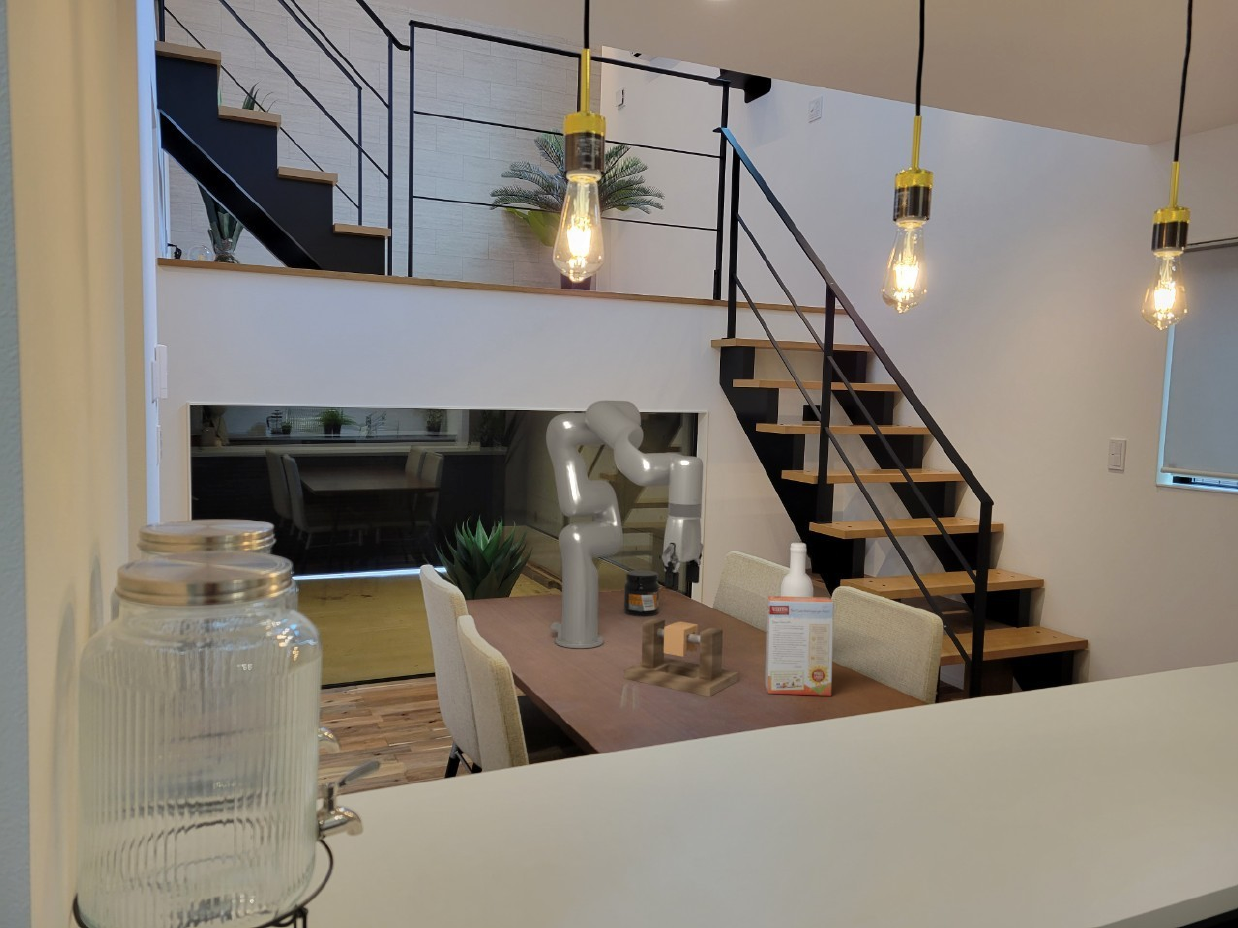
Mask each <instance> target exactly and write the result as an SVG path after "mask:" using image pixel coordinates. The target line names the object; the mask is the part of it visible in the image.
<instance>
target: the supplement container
mask: <svg viewBox="0 0 1238 928" xmlns="http://www.w3.org/2000/svg"><path fill="white" fill-rule="evenodd" d="M658 574H659V573H658V572H656V571H651V570H643V569H642V570H640V569H639V570H630V571H627V572H626V573H625V580H626V581H625V583H624V584H623V587H624V593H623V594H624V595H623V596H624V598H623V604H624V605H623V610H624V612H625V614H628V615H630V616H638V617H649V616H653V615H656V614H657V613H658V612H659V609H660V608H659V601H660V599H659V596H660V595H659V593H660V584H659V583H658V581H659V575H658Z"/></svg>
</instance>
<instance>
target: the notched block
mask: <svg viewBox="0 0 1238 928" xmlns="http://www.w3.org/2000/svg"><path fill="white" fill-rule="evenodd" d="M689 634H695V635H699V624H697V623H691V622H685V621H680V620H679V621H677V622H674V623H671V624H668V625H665V627H664V654H665V655H666V654H667V655H673V656H678V657H685V656H687V651H689V652H694V653H695V652H697V651H698V645H699V644H695V643H689V642H686V638H687V635H689Z"/></svg>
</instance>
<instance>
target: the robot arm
mask: <svg viewBox="0 0 1238 928" xmlns="http://www.w3.org/2000/svg"><path fill="white" fill-rule="evenodd" d="M641 421H642V417H641V412H640V409H639V408H638V407H637V406H636V405H635V404H634V403H632V402H630V401H627V400H626V401H625V400H599V401H595V402H593V403H591V404H590V405H589V406H588V407H587V409H586V410H585V412H567V413H562V414H561V413H560V414H558V415H556V416H554V417H553V418H552V419H551V420H550V422H549V423H548V424H547V425H548V426H547V428H546V433H545V434H546V436H545V441H546V447H547V450H548V454H549V457H550V460H551V463H552V466H553V470H554V479H555V484H556V491H557V499H558V505H559V508H560V511H561V513H562V514H563V516H565V517H568V518H589V517H590V518H591V517H593V521H579V522H572V523H570V524H568V525H565V526H563V528H562V529H561V531H560V532H559V535H558V545H559V546H558V547H559V552H560V557H561V558H560V559H561V622H558V621H554V622H553V623H552V624H551V626H550V631H552V632H557V635H556V637H555V639H554V640H555V641H554V642H555V643H556V645H558V646H560V647H564V648H570V649H591V648H596V647H599V646H602V645H603V643H604V637H603V635H600V634H599V632H598V630H599V584H600V581H599V580H600V578H599V572H598V570H597V568H596V566H595V564H594V562H593V559H595V558H602V557H604V558H605V557H610V556H611V557H612V556H614V555H615V554H618V553H619V552H620V550H621V548H622V546H623V541H624V538H623V529H622V527H623V526H622V520H621V515H620V509H619V502H618V498H617V493H616V491H615V489H614V488H613V486H612V485H611V483H609V482H608V481H606V480H600V479H598V480H597V479H595V480H593V479H592V480H590V479H589V476H588V470H587V464H586V461H585V460H584V458H583V456H582V455H581V453H580V452H579V451H578V450H577V449H576V448H575V447H576V446H603V445H608V446H609V447H610V448H611V449H612V450H613V457H614V458H613V459H614V462H615V465H616V467H617V469H618V471H620V473H621V474H623V476H624V477H626V478H627V479H628V480H629V481H630V482H632V483H633V484H635V485H636V486H640V487H644V488H645V487H661V486H662V487H663V486H668V505H667V506H668V509H667V510H668V511H667V520H666V523H665V530H664V537H663V538H664V539H663V551H662V553H661V554H662V555H661V559H662V561H663V562H662V565H663V571H664V589H666V590H669V591H670V590H672V591H678V590H679V583H680V582H679V581H680V580H679V579H680V578H679V577H680V572H679V571H678V570H679V568H680V565H681V564H683V563H687V564H686V567H685V568H686V570H685V582H687V583H693V584H699V583H700V566H701V564H702V562H701V560H702V557H703V550H704V544H703V542H702V523H701V519H702V512H703V511H702V509H703V508H702V507H703V504H702V503H703V486H704V485H703V481H704V462H703V460H702V459H701V458H700V457H696V456H687V455H682V454H678V453H675V452H674V453H673V452H665V453H663V452H658V453H657V452H655V453H654V452H653V453H644V452H642V451H640V450H639V448H640V446H641V445H642V444H643V441H644V431H643V428H642V426H641Z"/></svg>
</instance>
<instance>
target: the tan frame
mask: <svg viewBox="0 0 1238 928" xmlns="http://www.w3.org/2000/svg"><path fill="white" fill-rule="evenodd" d="M665 626H666V619H661V618H656V617H653V618H650V619H648V620H645V621H642V635H641V636H642V642H641V644H642V645H641V646H642V647H641V661H640V662H639V663H636V664H634V665H632V666H629V667H627V668H625V669H624V670H623V679H625V680H629V681H635V682H640V683H643V684H649V685H653V686H657V687H661V688H666V689H671V690H674V691H675V690H676V691H680V692H684V693H685V692H686V693H689V694H695V695H700V696H703V697H709V698H710V697H712V696H714V695H716V694H717V693H719V692H722V690H724V689H727V688H728V687H729V686H732V685H733V684H735V683H737V682H738V681H739V672H738V671H733V670H727V669H725V668H724V669H723V668H722V666H723V663H722V662H723V631H724V630H723V629H721V628H715V627H709V628H707V629H704V630H702V631H700V633H699V634H700V635H699V634H698V635H695V634H689V635H687V638H686V642H689V643H695V644H698V645H699V664H698V663H697V664H696V663H693V662H687V661H682V660H677V659H672V658H665V653H664V627H665Z"/></svg>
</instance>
